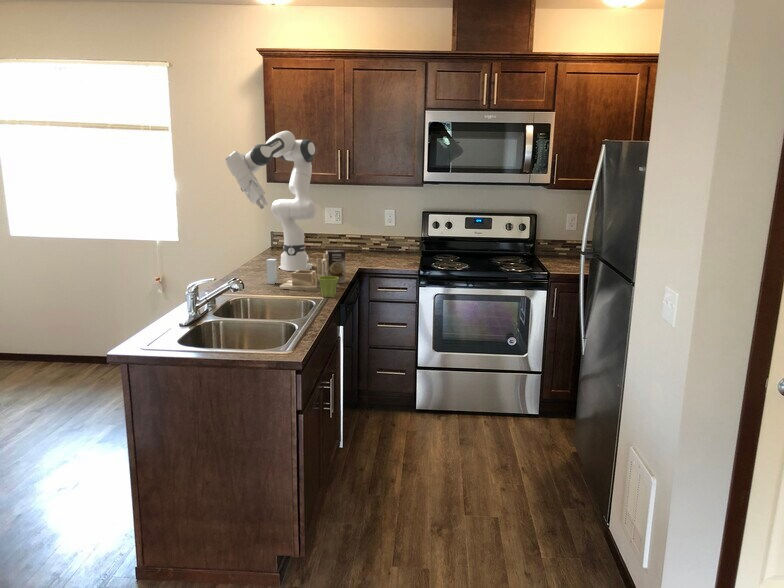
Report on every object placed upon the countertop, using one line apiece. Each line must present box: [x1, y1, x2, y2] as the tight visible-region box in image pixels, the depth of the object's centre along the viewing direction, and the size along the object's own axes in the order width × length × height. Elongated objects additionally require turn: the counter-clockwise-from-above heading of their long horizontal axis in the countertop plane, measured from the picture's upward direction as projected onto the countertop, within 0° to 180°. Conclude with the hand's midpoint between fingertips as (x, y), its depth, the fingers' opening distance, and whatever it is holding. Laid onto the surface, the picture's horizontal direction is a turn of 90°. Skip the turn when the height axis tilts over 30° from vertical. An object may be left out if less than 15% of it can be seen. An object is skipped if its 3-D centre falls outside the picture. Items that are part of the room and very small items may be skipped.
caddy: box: [279, 253, 328, 292], centre depth 299 cm, size 16×20×16 cm
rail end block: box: [265, 258, 278, 285], centre depth 306 cm, size 4×4×12 cm
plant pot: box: [318, 276, 339, 298], centre depth 281 cm, size 9×9×9 cm
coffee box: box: [325, 249, 346, 284], centre depth 312 cm, size 9×6×16 cm
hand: (264, 206), depth 305 cm, fingers open, 8 cm apart
